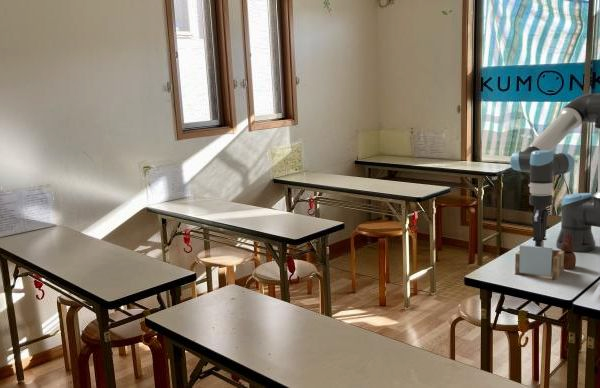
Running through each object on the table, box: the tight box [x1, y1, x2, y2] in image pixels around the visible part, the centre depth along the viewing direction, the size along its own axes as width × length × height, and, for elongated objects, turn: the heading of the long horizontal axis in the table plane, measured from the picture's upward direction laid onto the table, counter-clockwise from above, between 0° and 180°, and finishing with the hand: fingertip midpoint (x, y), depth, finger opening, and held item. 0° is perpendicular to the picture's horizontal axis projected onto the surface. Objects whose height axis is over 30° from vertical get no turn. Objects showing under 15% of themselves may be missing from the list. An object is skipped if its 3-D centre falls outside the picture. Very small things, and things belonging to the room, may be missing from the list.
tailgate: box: [519, 244, 553, 277], centre depth 210 cm, size 1×11×10 cm, turn 54°
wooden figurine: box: [560, 233, 577, 270], centre depth 219 cm, size 7×6×15 cm
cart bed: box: [514, 248, 565, 281], centre depth 215 cm, size 13×14×9 cm
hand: (539, 258), depth 214 cm, fingers closed
